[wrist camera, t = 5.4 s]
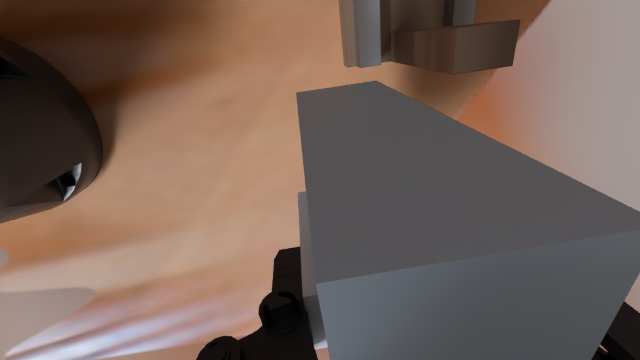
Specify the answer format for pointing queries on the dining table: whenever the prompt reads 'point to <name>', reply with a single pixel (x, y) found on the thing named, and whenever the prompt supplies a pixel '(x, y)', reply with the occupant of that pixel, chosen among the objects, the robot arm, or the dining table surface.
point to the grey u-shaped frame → (424, 35)
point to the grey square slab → (453, 238)
